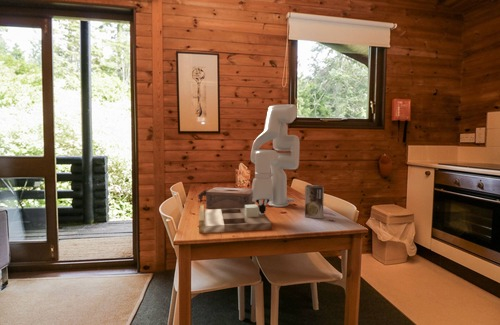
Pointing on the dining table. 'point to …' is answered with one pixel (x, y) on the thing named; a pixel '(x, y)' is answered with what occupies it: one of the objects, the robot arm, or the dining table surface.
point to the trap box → (230, 220)
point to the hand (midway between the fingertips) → (262, 212)
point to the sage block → (252, 210)
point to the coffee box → (314, 201)
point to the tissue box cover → (228, 198)
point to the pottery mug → (202, 195)
